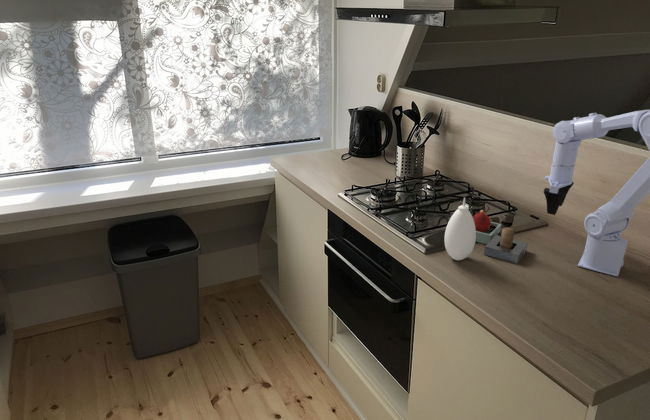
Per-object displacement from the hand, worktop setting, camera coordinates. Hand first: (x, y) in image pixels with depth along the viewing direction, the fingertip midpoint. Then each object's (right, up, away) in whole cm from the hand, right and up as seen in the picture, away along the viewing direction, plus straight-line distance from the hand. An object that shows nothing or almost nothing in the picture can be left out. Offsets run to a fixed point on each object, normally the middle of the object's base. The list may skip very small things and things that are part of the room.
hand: (554, 209), depth 145 cm
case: (-19, -8, +7) cm, 22 cm away
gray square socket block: (-15, -12, -3) cm, 20 cm away
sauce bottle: (-29, -14, -6) cm, 33 cm away
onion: (-19, -8, +7) cm, 22 cm away
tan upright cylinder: (-15, -12, -3) cm, 20 cm away
